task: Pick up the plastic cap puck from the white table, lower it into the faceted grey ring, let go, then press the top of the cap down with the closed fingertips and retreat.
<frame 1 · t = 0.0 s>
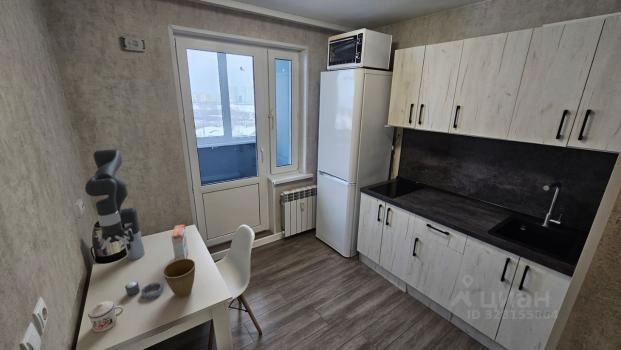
hand: (117, 252, 119), 29 cm above the table, fingers open, 8 cm apart
teacup with lid: (109, 323, 116), on the table
plant pot: (183, 293, 134), on the table
faceted grey ring: (153, 292, 134), on the table
cracker box: (182, 258, 162), on the table
cap: (133, 292, 134), on the table
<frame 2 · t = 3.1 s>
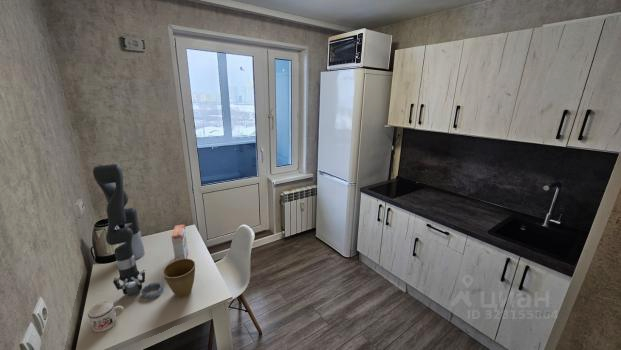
hand: (133, 291, 133), 1 cm above the table, fingers closed on cap, 5 cm apart
cap: (133, 292, 134), on the table, touching gripper
everything else where it was.
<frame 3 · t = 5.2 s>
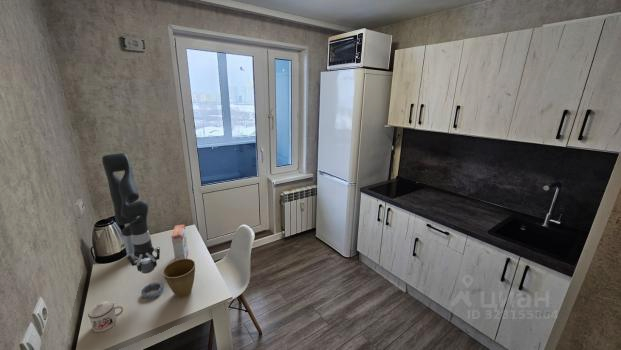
hand: (147, 268, 129), 15 cm above the table, fingers closed on cap, 5 cm apart
cap: (148, 269, 130), point 14 cm above the table, touching gripper
everything else where it was.
when the fingers open (3 cm above the table, at t = 7.4 s): cap drops 2 cm, resting in faceted grey ring.
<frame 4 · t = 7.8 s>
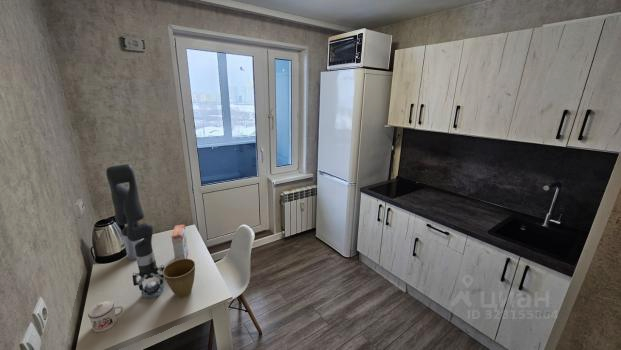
hand: (151, 286, 133), 4 cm above the table, fingers open, 8 cm apart
cap: (153, 292, 134), resting in faceted grey ring
everything else where it was.
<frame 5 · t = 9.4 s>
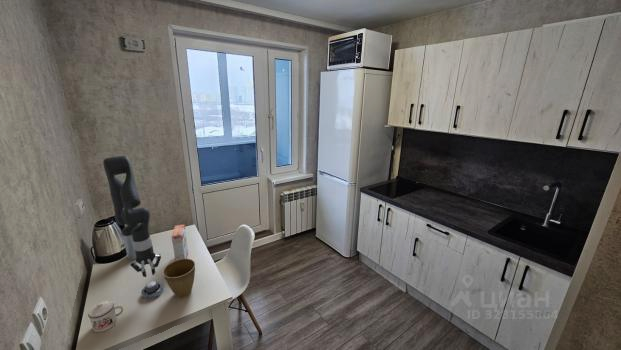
hand: (149, 275, 131), 11 cm above the table, fingers open, 3 cm apart
nothing on the table moved.
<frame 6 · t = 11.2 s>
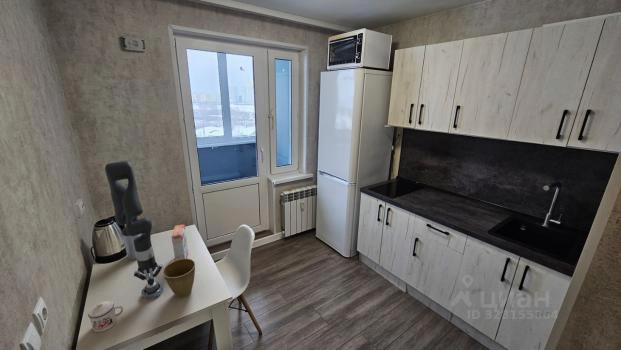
hand: (151, 284, 132), 5 cm above the table, fingers closed
nothing on the table moved.
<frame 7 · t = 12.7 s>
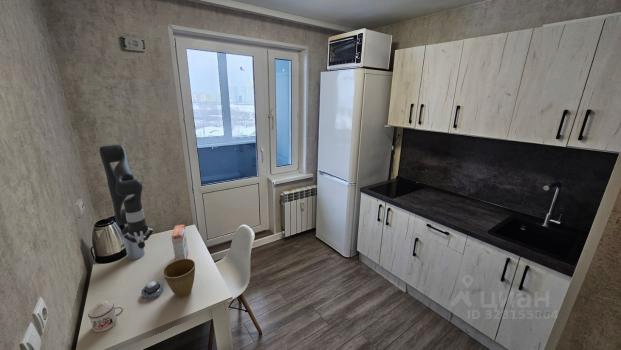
hand: (142, 247, 132), 24 cm above the table, fingers closed
nothing on the table moved.
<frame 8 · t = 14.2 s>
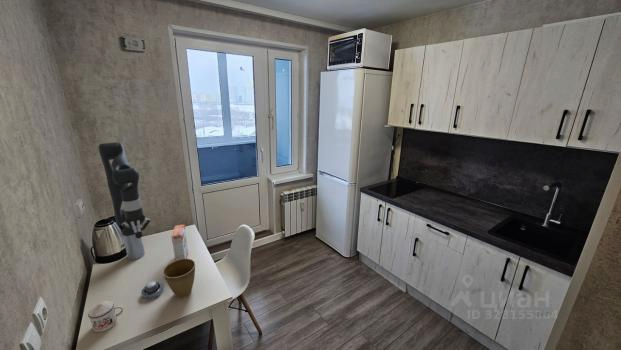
hand: (139, 237, 132), 29 cm above the table, fingers closed
nothing on the table moved.
at the end: cap 0.1 cm off-centre on the faceted grey ring, point 0.0 cm above the faceted grey ring's base; cap tilted 2°; the gripper is holding nothing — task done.
